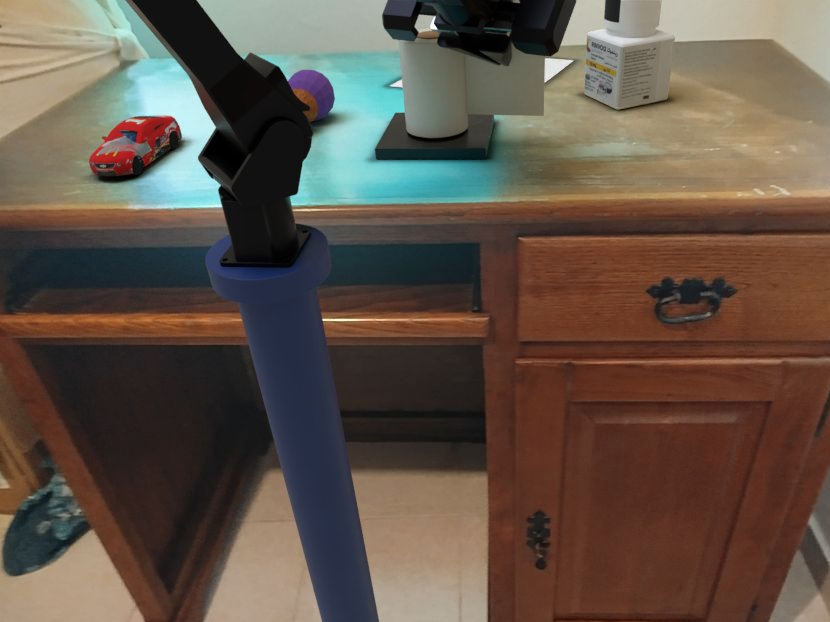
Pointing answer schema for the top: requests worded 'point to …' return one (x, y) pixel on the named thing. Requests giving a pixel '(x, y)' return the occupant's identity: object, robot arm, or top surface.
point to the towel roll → (464, 86)
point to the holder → (436, 141)
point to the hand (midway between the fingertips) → (504, 61)
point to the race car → (135, 145)
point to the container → (629, 55)
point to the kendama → (313, 93)
